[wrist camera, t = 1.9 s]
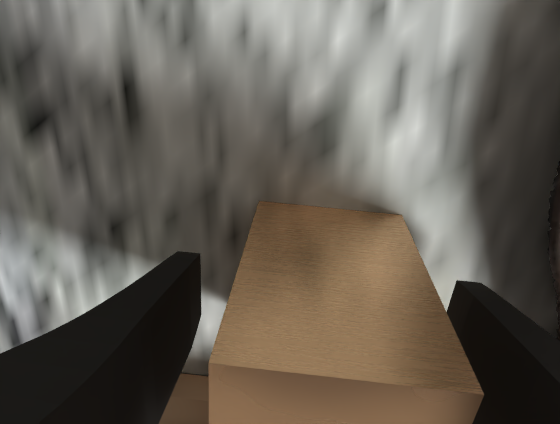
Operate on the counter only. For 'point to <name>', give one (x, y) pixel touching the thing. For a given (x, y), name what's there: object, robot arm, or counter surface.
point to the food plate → (555, 239)
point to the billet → (336, 327)
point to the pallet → (188, 401)
